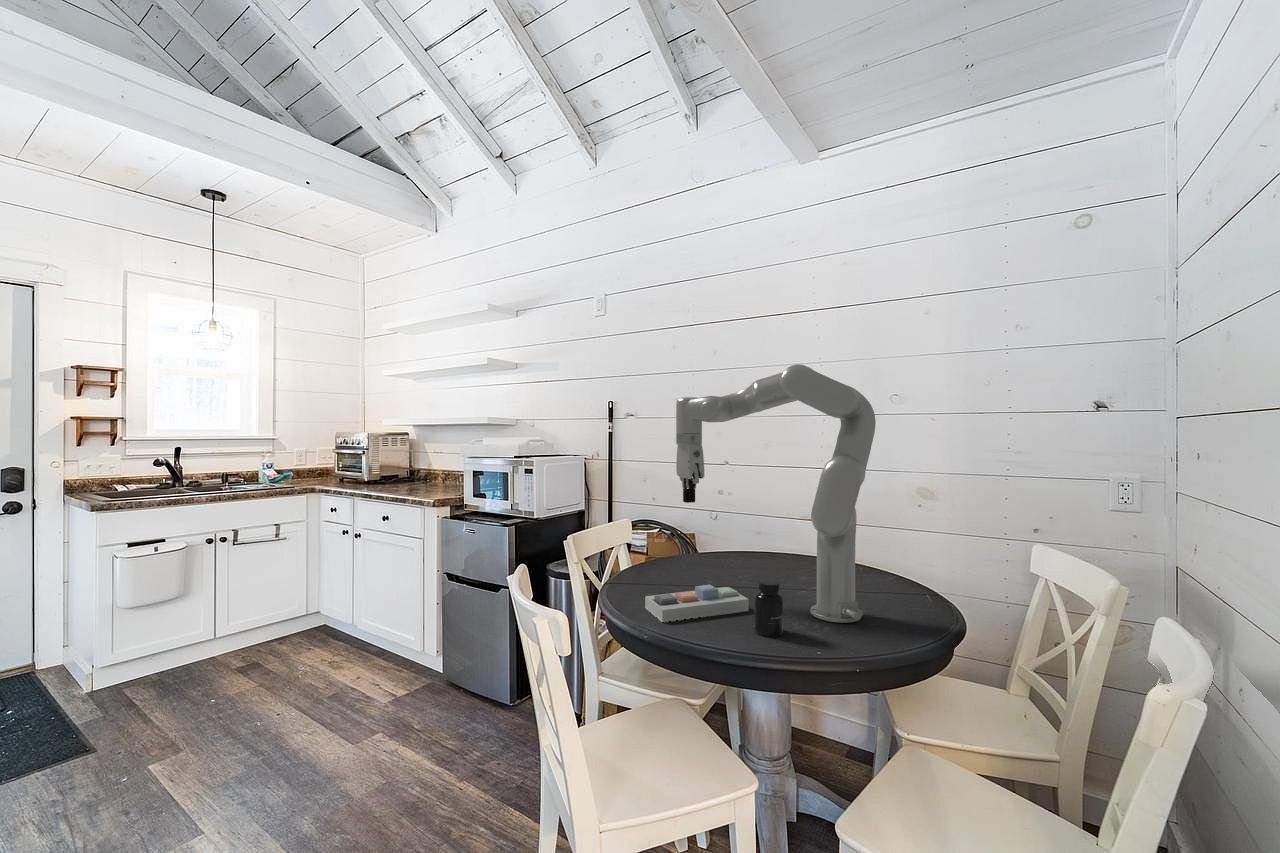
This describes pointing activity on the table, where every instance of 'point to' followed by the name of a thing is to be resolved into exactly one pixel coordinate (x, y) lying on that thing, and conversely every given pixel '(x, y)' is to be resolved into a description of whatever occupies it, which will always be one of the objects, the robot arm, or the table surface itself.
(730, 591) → the key sage
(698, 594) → the key slate
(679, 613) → the keypad
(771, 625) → the supplement bottle
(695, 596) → the key terracotta
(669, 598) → the key charcoal
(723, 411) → the robot arm
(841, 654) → the table surface
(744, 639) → the table surface
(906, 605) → the table surface
